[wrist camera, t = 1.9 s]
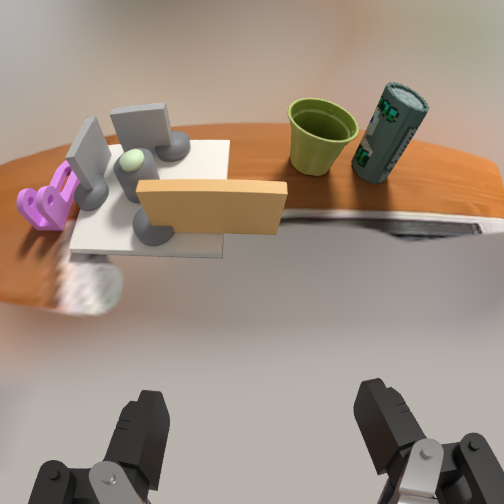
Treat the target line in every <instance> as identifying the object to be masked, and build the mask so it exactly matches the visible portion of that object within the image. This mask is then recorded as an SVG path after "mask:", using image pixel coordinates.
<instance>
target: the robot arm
mask: <svg viewBox="0 0 504 504" xmlns="http://www.w3.org/2000/svg"><path fill="white" fill-rule="evenodd" d="M354 416H355V419H356V422H357V424H358V426H359V429H360V431H361V434H362V436H363V439H364V441H365V443H366V446H367V448H368V451H369V454H370V456H371V458H372V461H373V464H374V466H375V469H376V471H377V474H378V475H381V474H384V473H387V474H388V476H389V478H388V479H387V482H386V484H385V486H384V489H383V491H382V493H381V496H380V498H379V501H378V503H377V504H438V503H439V504H504V471H503V469H502V468H501V466H500V464H499V462H498V460H497V458H496V457H495V455H494V453H493V451H492V450H491V448H490V446H489V445H488V443H487V441H486V439H485V438H484V437H483V436H482V435H480V434H478V433H469V434H467V435H465V436H464V437H463V439H462V440H461V441H460V442H456V443H449V444H440V443H439V442H437V441H436V440H433V439H428V438H427V437H426V436H425V435H424V433H423V431H422V429H421V428H420V426H419V424H418V422H417V421H416V419H415V417H414V416H413V414H412V412H410V409H409V407H408V406H407V405H406V402H405V401H404V399H403V397H402V396H401V394H400V393H398V392H397V391H396V390H395V389H393V388H392V387H389V388H386V386H385V384H384V383H383V381H382V380H381V379H380V378H376V379H371V380H366V381H363V382H362V383H361V385H360V388H359V391H358V394H357V397H356V400H355V403H354ZM169 427H170V417H169V413H168V410H167V407H166V404H165V401H164V398H163V395H162V393H161V392H160V391H149V390H142V391H141V393H140V396H139V398H138V401H137V402H136V401H130V402H129V403H128V404H127V405H126V406H125V407H124V408H123V409H122V412H121V414H120V417H119V421H118V422H117V425H116V429H115V430H114V433H113V436H112V438H111V442H110V444H109V447H108V450H107V453H106V455H105V458H104V460H103V461H102V462H99V463H97V464H95V465H94V466H93V467H92V468H88V469H75V468H74V469H73V468H67V467H66V466H65V465H64V464H63V463H62V462H60V461H57V460H50V461H47V462H45V463H44V464H43V465H42V466H41V468H40V470H39V473H38V475H37V478H36V481H35V484H34V487H33V490H32V493H31V496H30V499H29V503H28V504H151V503H150V501H149V500H148V498H147V496H148V490H149V489H150V490H155V491H157V490H158V484H159V479H160V474H161V468H162V463H163V457H164V452H165V447H166V442H167V437H168V432H169ZM464 477H465V478H464ZM465 479H466V480H465ZM466 481H467V482H466ZM469 488H470V489H469ZM470 490H471V491H470ZM434 494H435V495H436V497H437V498H435V497H434Z"/></svg>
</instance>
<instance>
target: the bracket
mask: <svg viewBox="0 0 504 504" xmlns="http://www.w3.org/2000/svg"><path fill="white" fill-rule="evenodd" d="M69 172H71V174H70V176H69V178H68V180H67V183H66V185H65V187H64V190H63V191H62V192H61V193H59V192H60V190H61V188H62V185H63V183H64V181H65V178H66V176H67V174H68V173H69ZM79 184H80V181H79V180H78V178H77V176H76V175H75V173H74V172H73V170H72V168H71V167H70V165H69V163H68V162H67V160H66V161H65V162H63V163H62V164H61V165H60V166H59V167H58V169H57V170H56V172H55V174H54V176H53V179H52V181H51V183H50V185H49V186H46V187H41V188H40V189H39V191H38V192H36V191H35V190H34V189H32V188H29V189H23V190H22V191H21V192H20V193H19V195H18V197H17V208H18V211H19V213H20V214H21V215H22V216H23V217H24V218H25V219H26V220H27V221H28V222H29V223H30V224H31V225H32V226H33V227H34V228H35V229H36V230H64V226H65V223H66V220H67V217H68V214H69V211H70V209H71V206H72V203H73V200H74V192H75V190H76V188H77V186H78V185H79Z"/></svg>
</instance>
